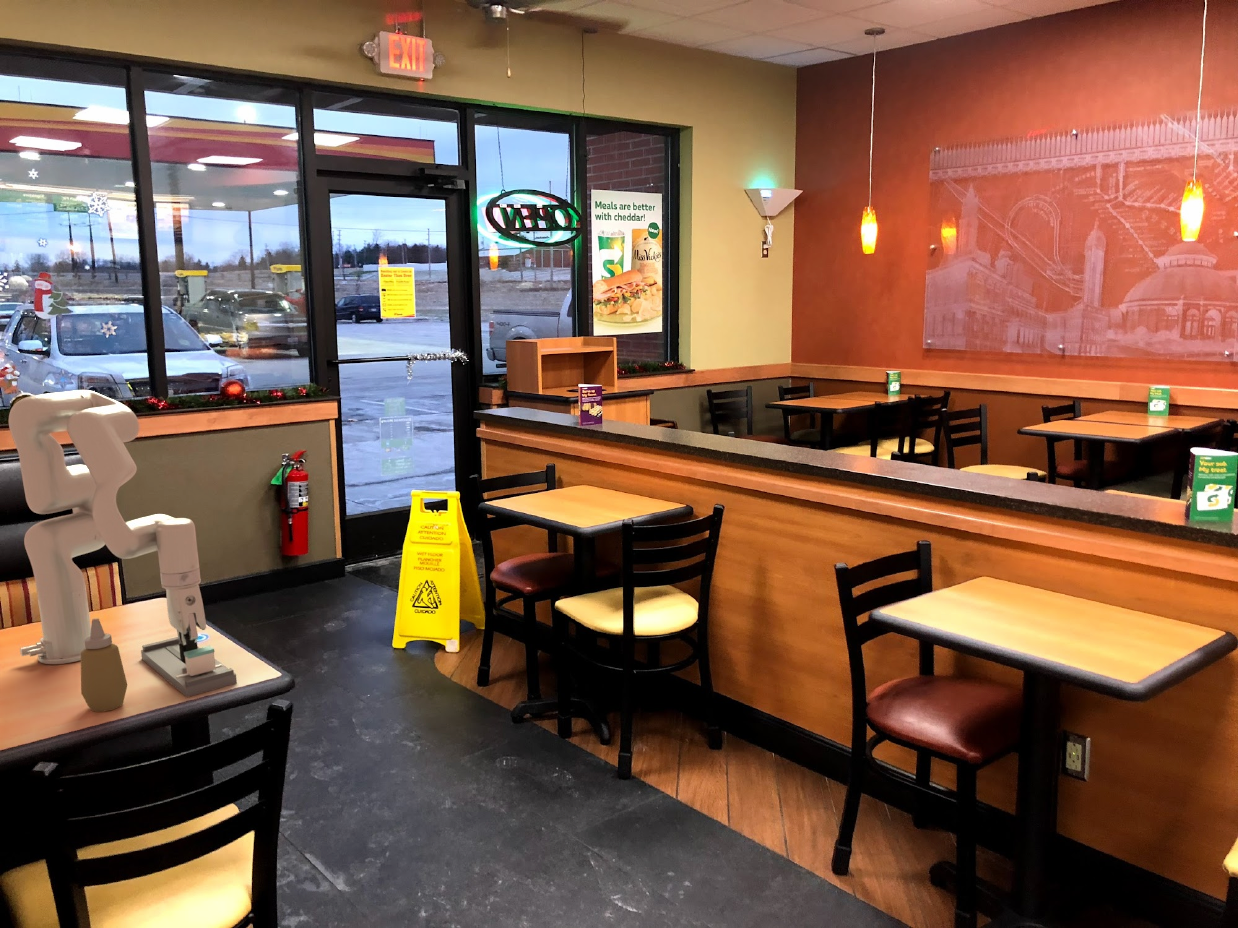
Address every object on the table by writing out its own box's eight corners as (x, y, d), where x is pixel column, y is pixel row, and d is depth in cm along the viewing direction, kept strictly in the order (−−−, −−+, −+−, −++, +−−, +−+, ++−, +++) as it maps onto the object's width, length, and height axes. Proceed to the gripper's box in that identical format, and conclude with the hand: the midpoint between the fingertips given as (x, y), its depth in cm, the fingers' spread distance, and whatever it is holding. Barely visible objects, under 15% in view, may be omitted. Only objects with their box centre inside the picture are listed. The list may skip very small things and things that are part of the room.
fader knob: (190, 676, 200) (188, 655, 200) (186, 672, 202) (183, 652, 202) (216, 669, 204) (214, 648, 203) (211, 665, 206) (209, 645, 205)
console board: (186, 697, 196) (185, 683, 196) (141, 658, 218) (140, 645, 218) (236, 682, 203) (235, 669, 202) (188, 647, 225) (186, 634, 224)
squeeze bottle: (83, 718, 187) (71, 629, 184) (84, 703, 195) (72, 617, 191) (130, 709, 191) (118, 621, 188) (129, 694, 198) (118, 610, 195)
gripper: (211, 581, 201) (220, 665, 205) (187, 566, 213) (196, 647, 216) (173, 588, 197) (183, 675, 200) (151, 574, 208) (160, 656, 211)
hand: (189, 660), depth 208 cm, fingers closed
